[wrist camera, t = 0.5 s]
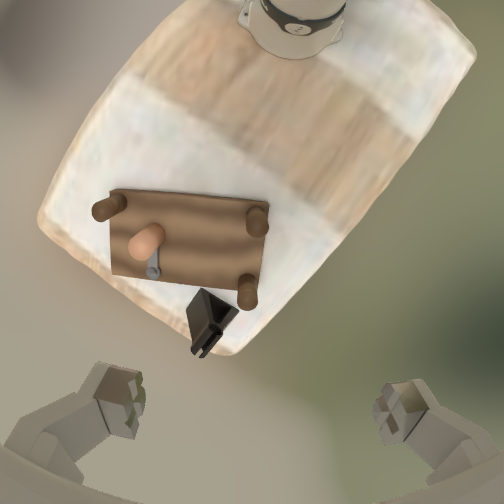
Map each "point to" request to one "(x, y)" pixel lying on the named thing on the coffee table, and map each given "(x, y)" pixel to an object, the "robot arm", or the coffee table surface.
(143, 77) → the coffee table surface
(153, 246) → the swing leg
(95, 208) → the stool base
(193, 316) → the phone stand
